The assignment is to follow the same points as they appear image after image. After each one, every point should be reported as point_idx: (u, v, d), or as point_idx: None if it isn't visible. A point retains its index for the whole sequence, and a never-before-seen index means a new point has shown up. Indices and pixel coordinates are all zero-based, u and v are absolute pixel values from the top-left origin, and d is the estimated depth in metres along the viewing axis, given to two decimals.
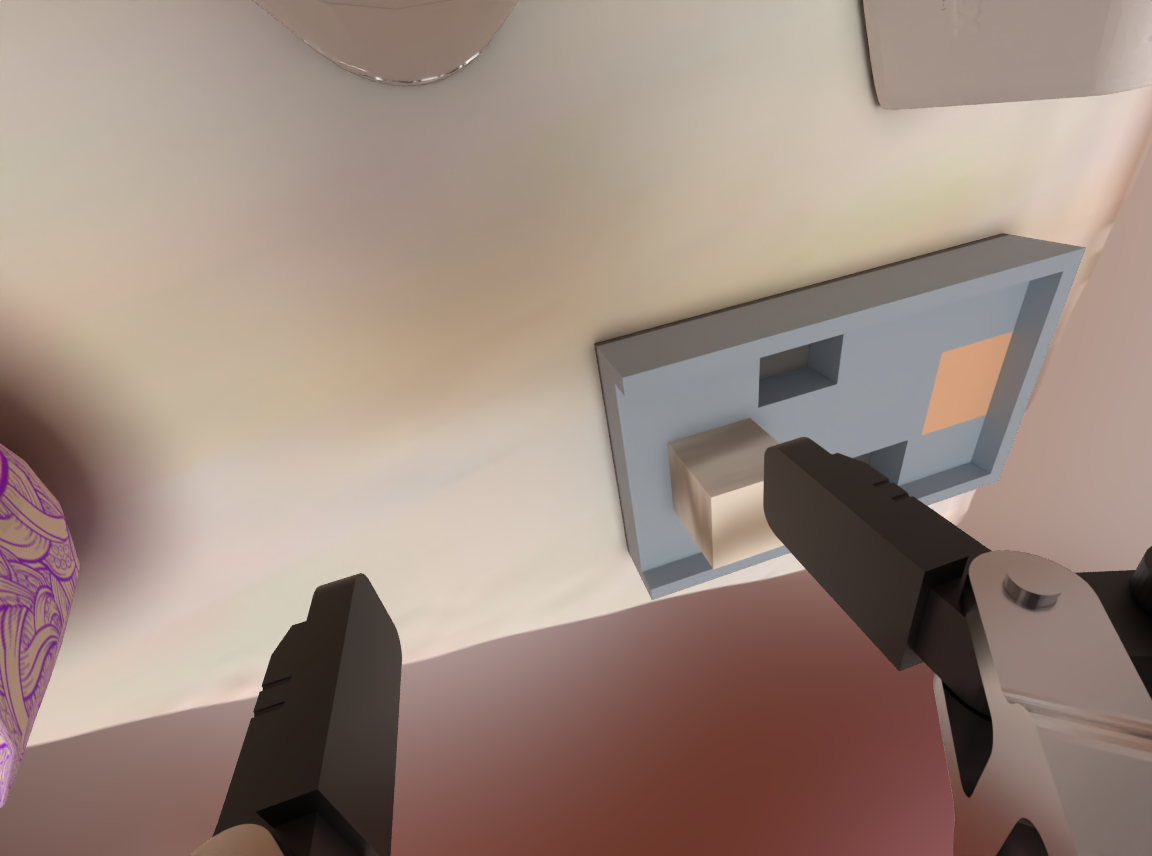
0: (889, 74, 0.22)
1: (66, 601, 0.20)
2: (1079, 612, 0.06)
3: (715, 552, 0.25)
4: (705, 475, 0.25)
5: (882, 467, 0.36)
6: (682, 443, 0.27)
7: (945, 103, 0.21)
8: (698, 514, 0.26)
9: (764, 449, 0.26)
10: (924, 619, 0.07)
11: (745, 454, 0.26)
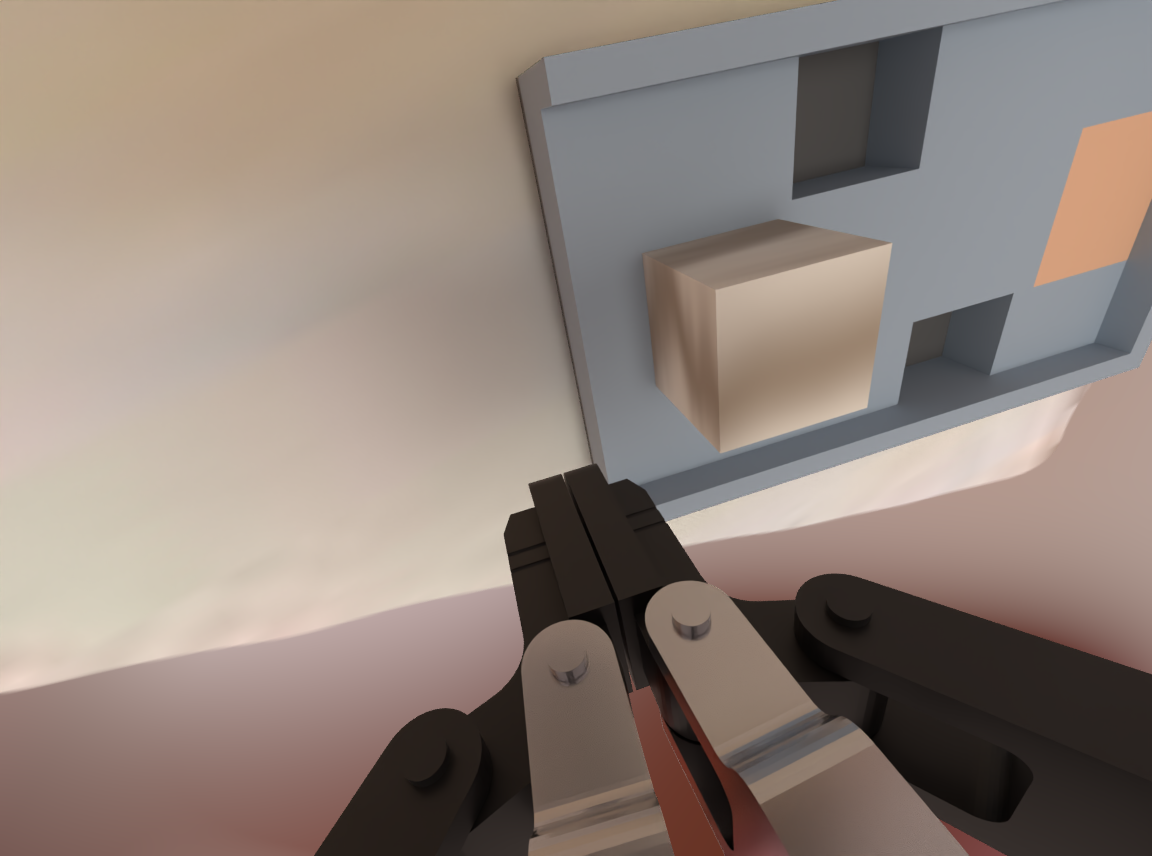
0: None
1: None
2: (715, 642, 0.06)
3: (723, 417, 0.14)
4: (704, 271, 0.14)
5: (964, 352, 0.24)
6: (665, 250, 0.16)
7: None
8: (692, 355, 0.15)
9: (808, 238, 0.15)
10: (637, 643, 0.08)
11: (774, 246, 0.14)
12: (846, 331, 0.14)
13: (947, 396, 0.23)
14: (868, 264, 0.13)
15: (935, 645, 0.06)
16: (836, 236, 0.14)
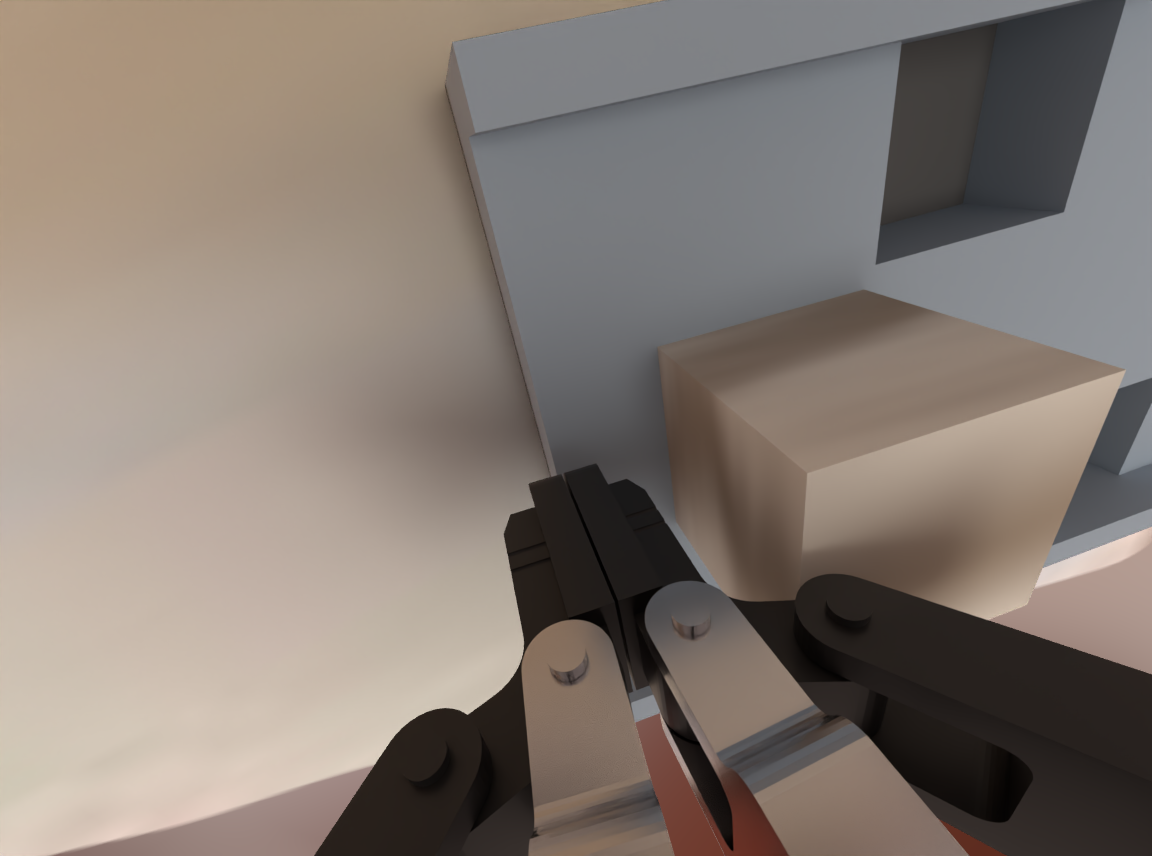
0: None
1: None
2: (715, 642, 0.06)
3: None
4: (771, 409, 0.08)
5: None
6: (694, 345, 0.10)
7: None
8: (745, 532, 0.09)
9: (940, 340, 0.09)
10: (637, 643, 0.08)
11: (884, 354, 0.09)
12: (1018, 509, 0.08)
13: None
14: (1078, 406, 0.07)
15: (935, 645, 0.06)
16: (993, 340, 0.08)
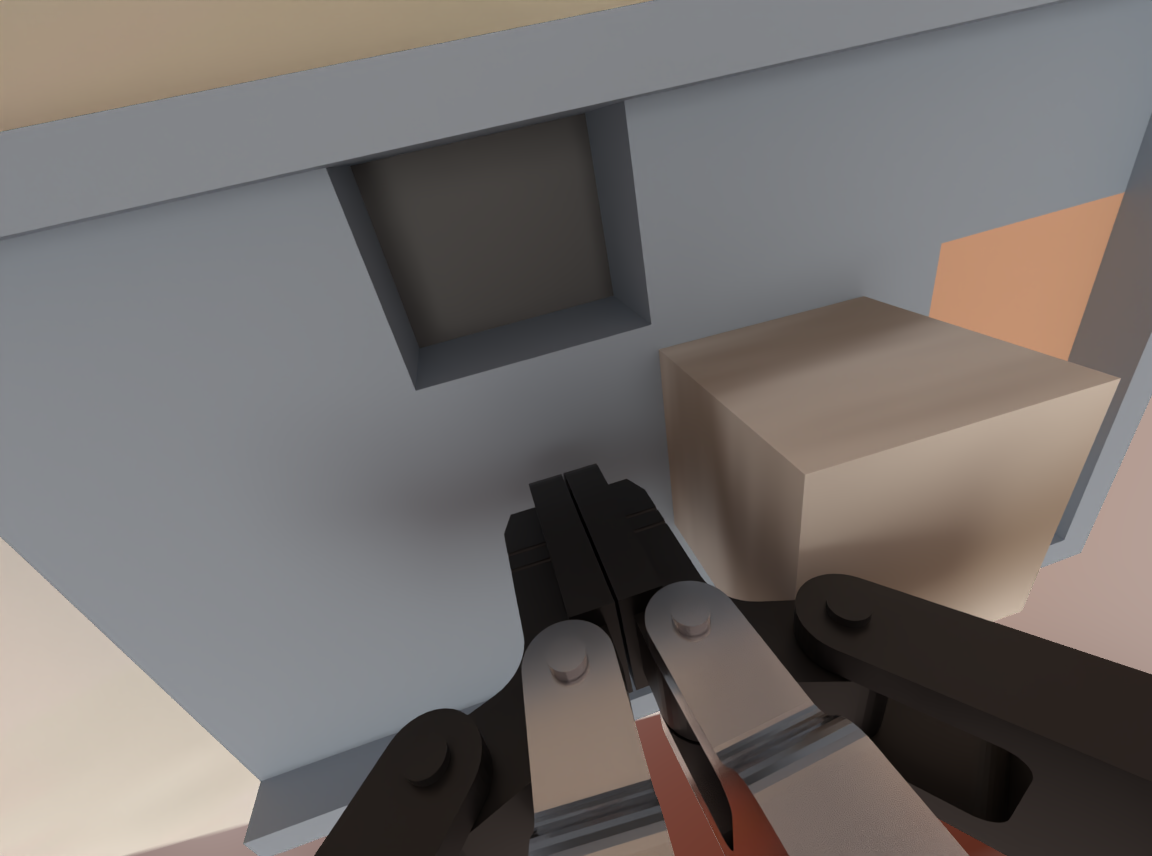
0: None
1: None
2: (715, 642, 0.06)
3: None
4: (770, 412, 0.08)
5: None
6: (696, 348, 0.10)
7: None
8: (743, 534, 0.09)
9: (938, 346, 0.09)
10: (637, 643, 0.08)
11: (882, 360, 0.09)
12: (1014, 515, 0.08)
13: None
14: (1073, 414, 0.07)
15: (935, 645, 0.06)
16: (990, 347, 0.08)
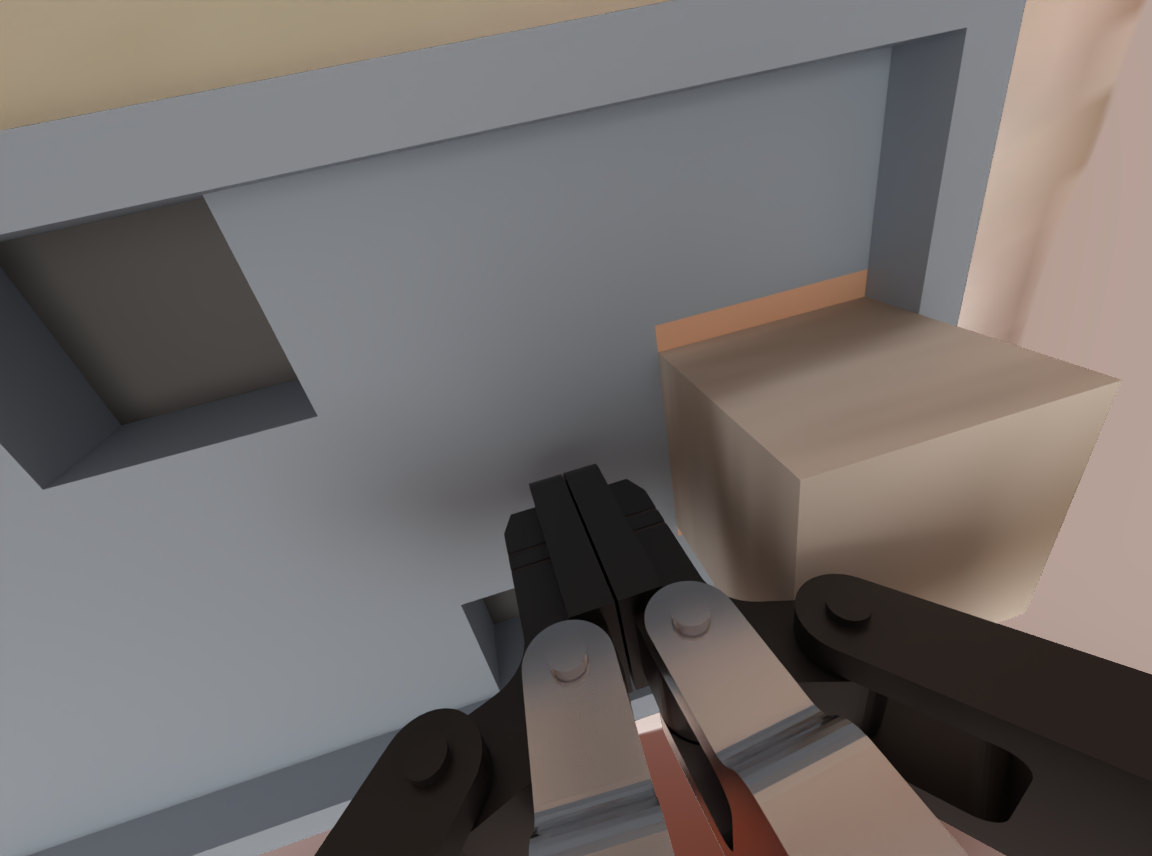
0: None
1: None
2: (715, 642, 0.06)
3: None
4: (768, 415, 0.08)
5: None
6: (695, 350, 0.10)
7: None
8: (742, 537, 0.09)
9: (938, 348, 0.09)
10: (637, 643, 0.08)
11: (882, 362, 0.09)
12: (1014, 518, 0.08)
13: None
14: (1073, 416, 0.07)
15: (935, 645, 0.06)
16: (990, 349, 0.08)
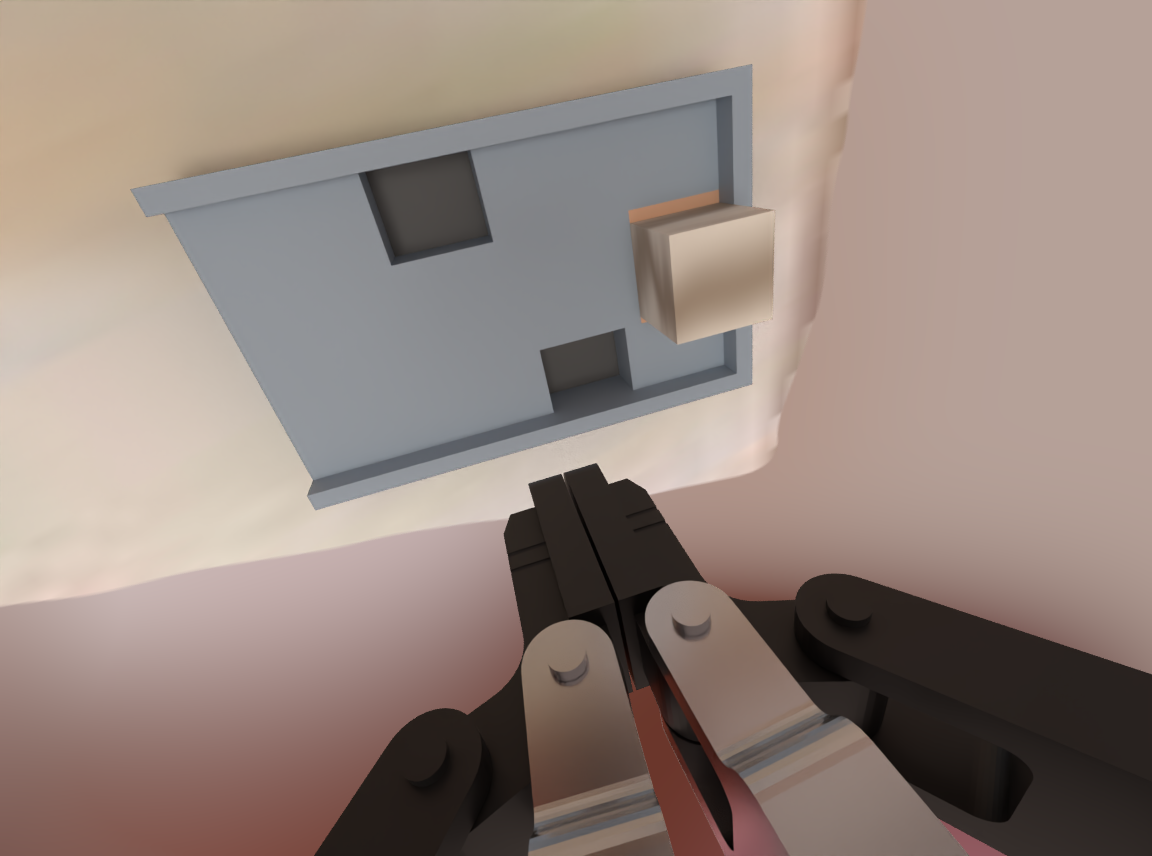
0: None
1: None
2: (715, 642, 0.06)
3: (678, 319, 0.23)
4: (665, 228, 0.23)
5: (624, 372, 0.31)
6: (644, 221, 0.25)
7: None
8: (660, 283, 0.24)
9: (731, 210, 0.24)
10: (637, 643, 0.08)
11: (710, 215, 0.23)
12: (752, 265, 0.23)
13: (591, 406, 0.29)
14: (761, 222, 0.22)
15: (935, 645, 0.06)
16: (747, 209, 0.23)
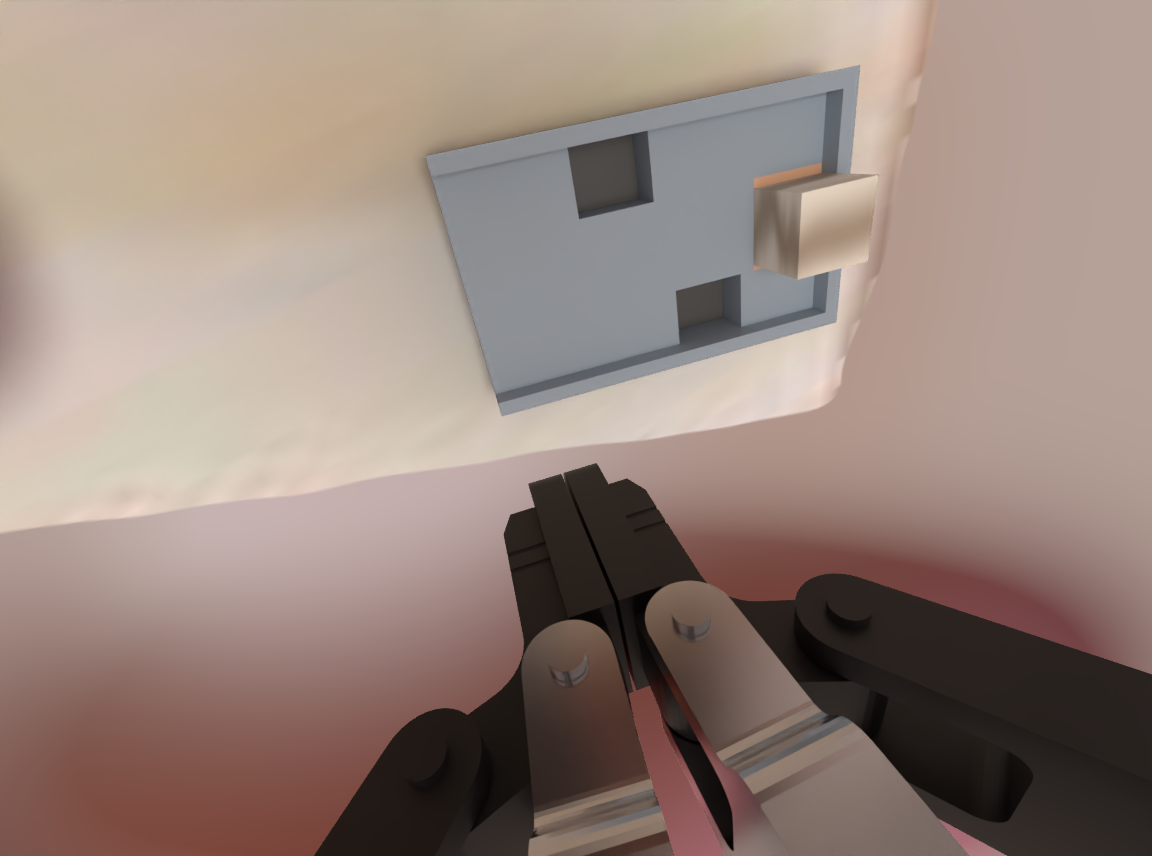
0: None
1: None
2: (715, 642, 0.06)
3: (800, 258, 0.31)
4: (792, 189, 0.30)
5: (731, 313, 0.38)
6: (766, 186, 0.33)
7: None
8: (784, 232, 0.31)
9: (839, 177, 0.31)
10: (637, 643, 0.08)
11: (823, 180, 0.31)
12: (857, 218, 0.30)
13: (709, 338, 0.37)
14: (867, 184, 0.29)
15: (935, 645, 0.06)
16: (852, 175, 0.31)
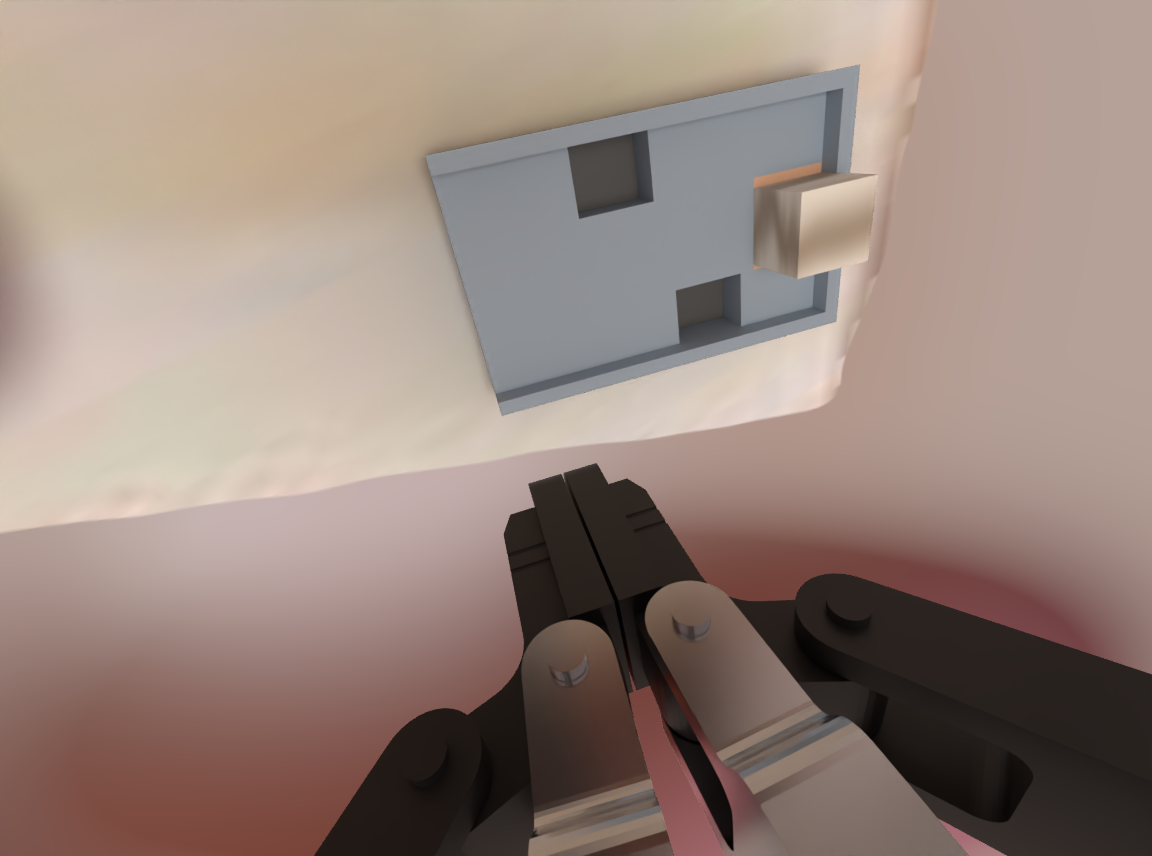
0: None
1: None
2: (716, 642, 0.06)
3: (800, 258, 0.31)
4: (792, 189, 0.30)
5: (731, 313, 0.38)
6: (766, 186, 0.33)
7: None
8: (784, 232, 0.31)
9: (839, 176, 0.31)
10: (637, 643, 0.08)
11: (823, 180, 0.31)
12: (857, 217, 0.30)
13: (709, 338, 0.37)
14: (867, 183, 0.29)
15: (935, 645, 0.06)
16: (852, 174, 0.31)
